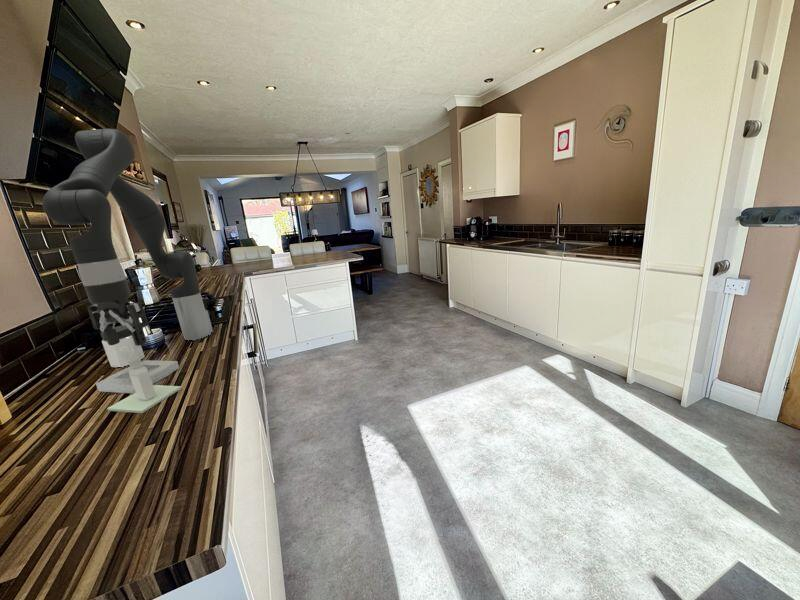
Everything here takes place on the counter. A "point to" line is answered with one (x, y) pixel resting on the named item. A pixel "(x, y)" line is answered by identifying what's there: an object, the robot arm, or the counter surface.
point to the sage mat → (141, 406)
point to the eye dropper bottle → (141, 379)
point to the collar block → (123, 382)
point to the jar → (122, 348)
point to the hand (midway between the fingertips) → (127, 344)
